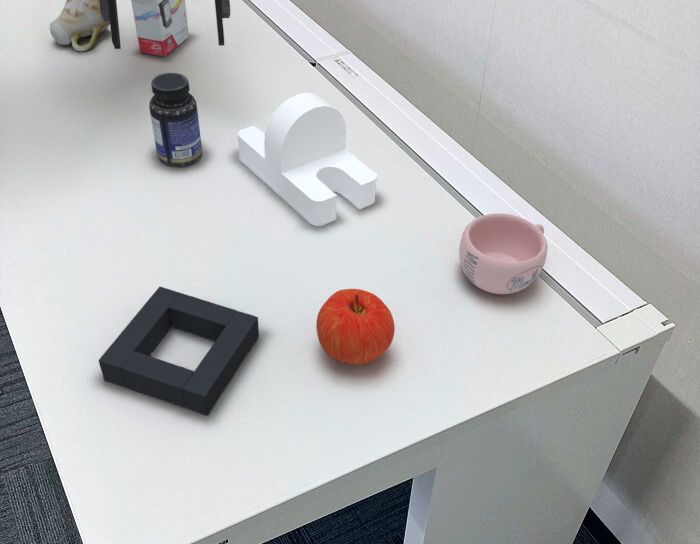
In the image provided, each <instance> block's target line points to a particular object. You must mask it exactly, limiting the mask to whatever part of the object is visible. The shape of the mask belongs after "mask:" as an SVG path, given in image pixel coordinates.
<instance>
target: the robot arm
mask: <svg viewBox="0 0 700 544" xmlns="http://www.w3.org/2000/svg"><path fill="white" fill-rule="evenodd" d="M99 2H100V13H101V15H102V18H103V20H104V21H110V25H109V26H110V35H111V36H110V37H111V43H112V46H113V47H114V49H115V50H120V49H122V46H121V45H122V44H121V35H120V24H119V14H118V6H117V5H118V4H117V0H99ZM230 2H231V1H230V0H214V7H215V9H214V10H215V17H216V18H215V19H216V30H217V43H218V46H220V47H221V46H223V47H225V32H224V21H223V19H230V17H231V3H230Z"/></svg>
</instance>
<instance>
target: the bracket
mask: <svg viewBox="0 0 700 544" xmlns="http://www.w3.org/2000/svg"><path fill="white" fill-rule="evenodd" d="M346 127H347V126H346V122H345V119H344V117H343V115H342V114H341V112H340V111H339V110H338V109H337V108H335V107H334V106H333V105H331V104H330V103H329V102H327V101H326V100H325V99H323V98H322V97H320V96H319V95H317V94H315V93H311V92H302V93H297V94H295V95H293V96H291V97H289V98H287V99H286V100H285V101H283V102H282V103H281V104H279V106H278V107H277V108H276V109H275V110H274V112H273V113H272V115H271V116H270V119H269V120H268V122H267V125H266V129H265V132H263V131H262V130H260V129H259V128H258V127H257V126H256V125H251V126H248V127H245V128H242V129H240V130H238V132H237V143H238V159H239V161H240V162H241V163H242V164H243V165H245V166H246V167H247V168H248V169H249V170H250V171H251V172H252V173H253V174H255V176H257V177H258V178H259V179H260V180H261V181H263V183H264V184H266V185H267V186H268V187H269V188H270V189H271V190H273V192H274V193H276V194H277V195H278V197H280V198H281V199H282V200H283V201H284V202H285V203H287V204H288V205H289V206H290V207H291V208H292V209H293V210H294V211H296V212H297V213H298V215H300V216H301V217H302V218H303V219H305V221H307V223H309V225H311V226H315V227H322V226H325V225H327V224H331V223H333V222H335V221H337V207H338V206H337V205H338V195H337V194H336V193H338V194H340V195H341V196H343V197H344V198H345V200H347V201H348V202H349V203H351V205H353V206H354V207H355V208H357V209H358V210H362V209H364V208H367V207H370V206H372V205H373V204H375V202H376V189H377V180H378V175H377V173H376V172H375V171H374V170H373V169H371V168H370V167H369V166H367V165H366V164H365V163H364V162H363V161H361V160H359V159H358V158H357V157H356V156H355V155H353V154H352V153H351V152H349V150H347V149H346V142H347V141H346V139H347V137H346V136H347V128H346Z"/></svg>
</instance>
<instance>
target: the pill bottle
mask: <svg viewBox="0 0 700 544" xmlns="http://www.w3.org/2000/svg"><path fill="white" fill-rule="evenodd" d="M150 85H151V92H152V94H153V95H152V96H151V98H150V100H149V103H148V109H149V114H150V119H151V126H152V133H153V137H154V145H155V151H156V156H157V158H158V160H159V161H160V162H161V163H162V164H163V165H166V166H170V167H174V168H182V167H188V166H192V165H194V164H196V163H197V162H199V160H200V159H201V158H202V155H203V146H202V139H201V129H200V122H199V121H200V120H199V112H198V111H199V110H198V103H197V100H196V98H195V96H194V95H193V94H191V93H190V90H191V89H190V82H189V79H188V77H187V76H185V75H184V74H181V73H178V72H165V73H160V74H158V75H156V76H154V77H153V78H152V79H151V81H150Z"/></svg>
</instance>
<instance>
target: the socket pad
mask: <svg viewBox="0 0 700 544" xmlns="http://www.w3.org/2000/svg"><path fill="white" fill-rule="evenodd" d="M171 328H174V329H178V330H180V331H184V332H186V333H190V334H193V335H195V336H199V337H202V338H205V339H208V340H212V341H214V343H213V344H212V345H211V347H210V348H209V350H208V351H207V353H206V354H205V356H204V357H203V358H202V360H201V361H200V363H199V364H198V366H197V367H196V368H195V370H192V369H189V368H187V367H183V366H180V365H177V364H174V363H171V362H168V361H165V360H162V359H160V358H156V357H154V356H150V355H151V354H152V353H153V352H154V350H156V348H157V346H158V345H159V344H160V342H161V341H162V340H163V339H164V338H165V336H166V335H167V334H168V332H169V331H170V330H171ZM259 330H260V328H259V317H258V316H256V315H252V314H249V313H247V312H243V311H240V310H237V309H233V308H231V307H227V306H225V305H221V304H218V303H215V302H211V301H208V300H205V299H201V298H199V297H195V296H192V295H189V294H185V293H183V292H179V291H176V290H173V289H170V288H166V287H163V286H158V288H157V289H156V290H155V291H154V293H153V294H152V295H151V296H150V297H149V298H148V300H147V301H146V302H145V303H144V305H143V306H142V307H141V308H140V309H139V311H138V312H137V313H136V314H135V315H134V317H133V318H132V319H131V320H130V321H129V322H128V323H127V325H126V327H125V328H124V329H122V331H121V332H120V334H118V336H117V337H116V338H115V340H114V341H113V342H112V343H111V345H110V346H109V347H108V348H107V349H106V350H105V351H104V353H103V354H102V355H101V357H100V358H99V359H98V364H99V367H100V371H101V375H102V378H103V380H104V381H106V382H109V383H111V384H115V385H117V386H121V387H124V388H127V389H130V390H132V391H136V392H139V393H141V394H144V395H147V396H150V397H153V398H155V399H159V400H162V401H165V402H167V403H170V404H173V405H176V406H178V407H182V408H185V409H188V410H190V411H193V412H197V413H199V414H202V415H205V416H209V414H210V412H211V411H212V409H213V408H214V407H215V405H216V403H217V402H218V400H219V399H220V397H221V396H222V394H223V392H224V391H225V389H226V388H227V387H228V385H229V383H230V382H231V380H232V379H233V378H234V375H235V374H236V373H237V371H238V369H239V368H240V366H241V365H242V363H243V362H244V360H245V359H246V357H247V356H248V354H249V353H250V351H251V350H252V348H253V346H254V345H255V343H256V342H257V340H258V339H259V337H260V333H259V332H260V331H259Z"/></svg>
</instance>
